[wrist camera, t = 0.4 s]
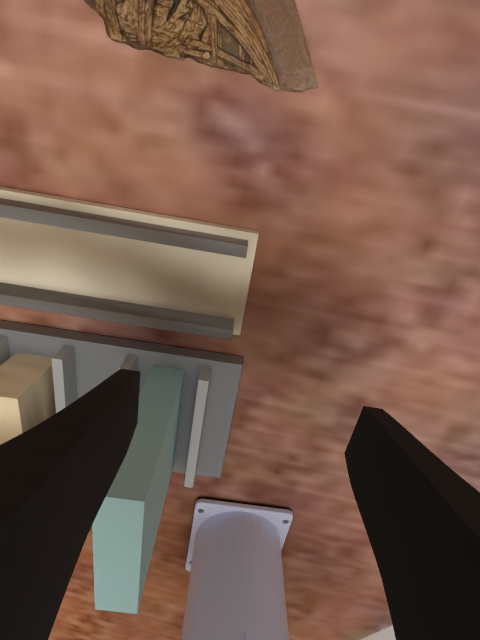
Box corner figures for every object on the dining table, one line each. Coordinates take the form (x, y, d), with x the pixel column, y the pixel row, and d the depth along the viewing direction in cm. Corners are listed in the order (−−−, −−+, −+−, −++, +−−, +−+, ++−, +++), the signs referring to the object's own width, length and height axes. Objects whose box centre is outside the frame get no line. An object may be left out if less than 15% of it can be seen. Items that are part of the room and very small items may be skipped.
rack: (221, 467, 25) (218, 496, 23) (-32, 433, 24) (-61, 460, 22) (242, 356, 21) (242, 379, 19) (-61, 310, 20) (-100, 328, 18)
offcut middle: (64, 442, 23) (31, 492, 20) (28, 437, 23) (-12, 487, 20) (58, 358, 20) (17, 399, 17) (17, 352, 20) (-33, 391, 17)
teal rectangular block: (174, 462, 24) (137, 613, 16) (147, 458, 24) (94, 609, 16) (184, 370, 21) (144, 501, 12) (152, 365, 21) (91, 494, 12)
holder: (240, 328, 20) (239, 347, 18) (-25, 286, 20) (-60, 302, 17) (258, 230, 18) (259, 239, 16) (-44, 179, 17) (-88, 180, 15)
